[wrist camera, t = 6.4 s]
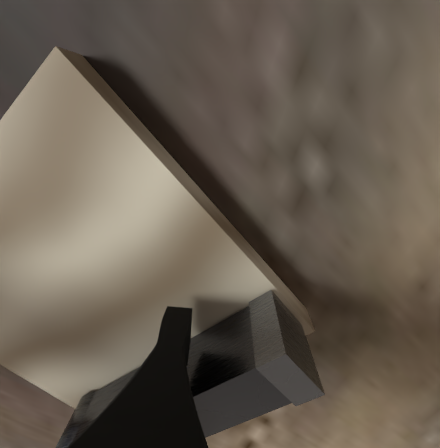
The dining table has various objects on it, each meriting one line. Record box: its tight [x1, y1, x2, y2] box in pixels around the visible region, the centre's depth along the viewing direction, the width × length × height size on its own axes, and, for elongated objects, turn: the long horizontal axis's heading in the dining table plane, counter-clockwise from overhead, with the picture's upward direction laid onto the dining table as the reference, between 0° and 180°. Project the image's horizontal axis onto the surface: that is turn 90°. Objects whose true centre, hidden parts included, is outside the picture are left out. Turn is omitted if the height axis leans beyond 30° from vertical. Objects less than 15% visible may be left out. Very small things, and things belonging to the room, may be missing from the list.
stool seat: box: [0, 46, 315, 409], centre depth 12 cm, size 15×15×3 cm
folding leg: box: [56, 290, 325, 448], centre depth 12 cm, size 14×3×3 cm, turn 128°
